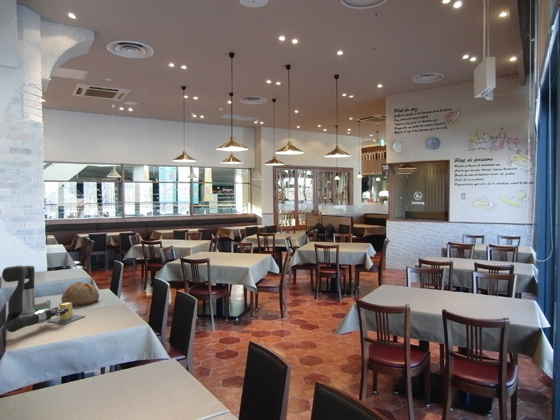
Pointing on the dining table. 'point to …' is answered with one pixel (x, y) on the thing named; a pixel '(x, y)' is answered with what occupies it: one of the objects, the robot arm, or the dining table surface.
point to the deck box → (67, 314)
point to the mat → (74, 318)
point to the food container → (42, 305)
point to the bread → (80, 294)
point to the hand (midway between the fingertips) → (62, 309)
